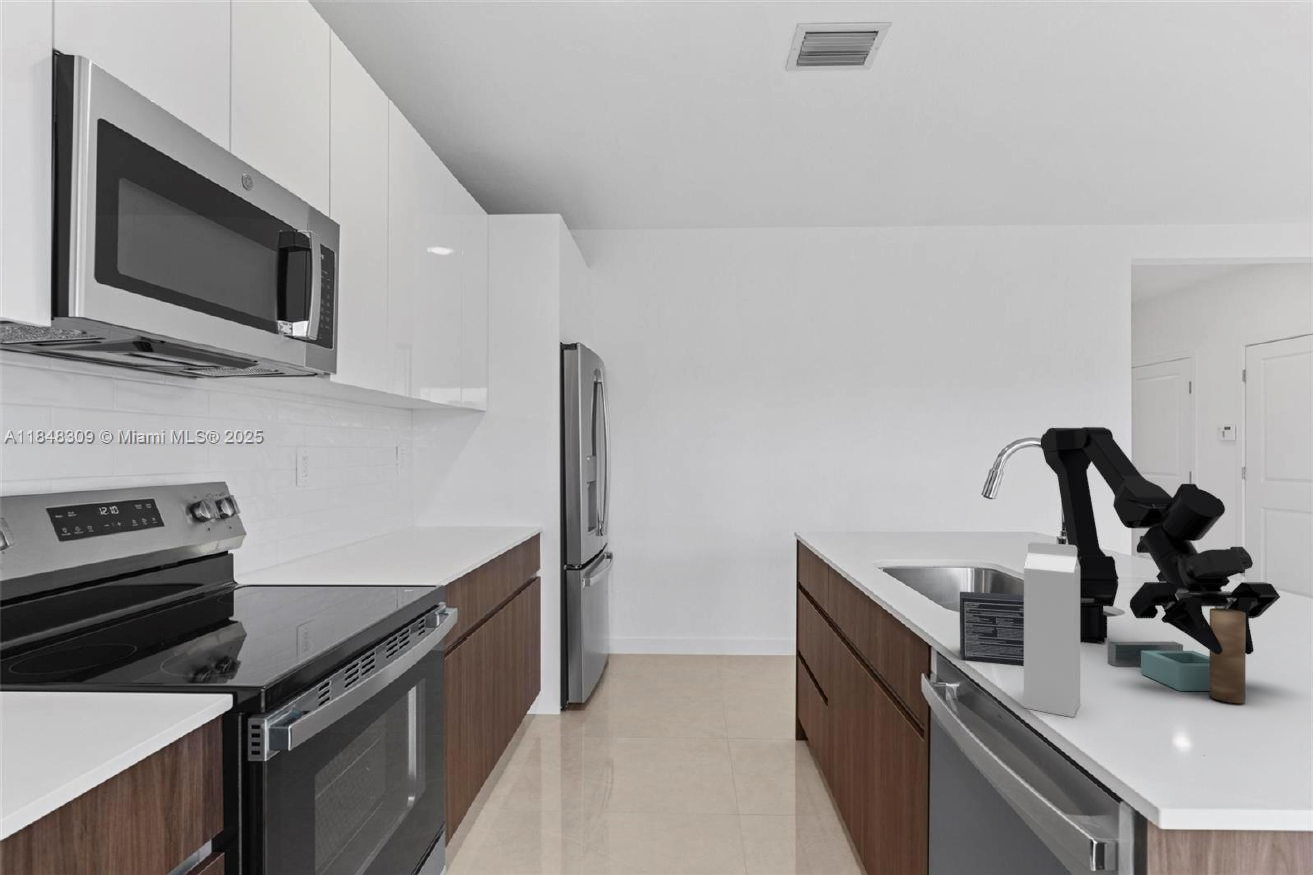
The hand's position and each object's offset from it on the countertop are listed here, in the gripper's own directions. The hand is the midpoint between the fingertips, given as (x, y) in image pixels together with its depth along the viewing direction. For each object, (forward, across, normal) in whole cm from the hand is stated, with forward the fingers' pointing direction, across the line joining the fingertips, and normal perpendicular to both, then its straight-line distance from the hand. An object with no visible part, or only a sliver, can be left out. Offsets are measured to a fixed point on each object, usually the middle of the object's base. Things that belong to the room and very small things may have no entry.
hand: (1235, 653), depth 103 cm
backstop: (-8, 0, +18) cm, 20 cm away
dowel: (+4, 0, +6) cm, 7 cm away
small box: (-11, -23, +21) cm, 33 cm away
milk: (+6, -26, +4) cm, 27 cm away
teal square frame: (-2, 0, +11) cm, 11 cm away
